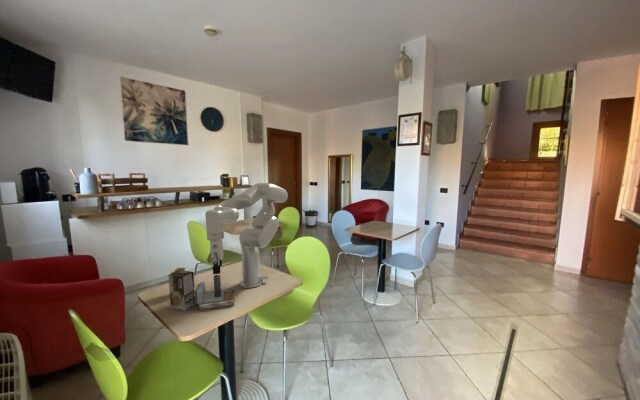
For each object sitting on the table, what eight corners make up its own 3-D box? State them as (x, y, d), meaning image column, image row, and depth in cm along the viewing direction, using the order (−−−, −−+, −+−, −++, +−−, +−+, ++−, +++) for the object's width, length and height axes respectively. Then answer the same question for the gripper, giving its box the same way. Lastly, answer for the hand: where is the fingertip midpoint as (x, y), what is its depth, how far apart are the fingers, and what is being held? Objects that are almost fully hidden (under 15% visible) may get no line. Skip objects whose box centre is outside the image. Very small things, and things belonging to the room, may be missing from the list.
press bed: (234, 292, 137) (234, 287, 137) (233, 306, 123) (233, 301, 123) (203, 296, 133) (203, 291, 133) (199, 311, 119) (198, 305, 118)
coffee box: (196, 304, 125) (194, 271, 123) (185, 310, 119) (183, 276, 117) (181, 301, 128) (179, 269, 126) (170, 307, 122) (167, 274, 120)
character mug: (185, 288, 142) (184, 265, 141) (194, 290, 139) (192, 267, 137) (165, 296, 132) (164, 271, 131) (174, 299, 129) (173, 274, 128)
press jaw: (224, 292, 134) (223, 271, 132) (222, 303, 123) (221, 279, 122) (199, 295, 130) (197, 273, 129) (195, 306, 120) (194, 282, 119)
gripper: (222, 239, 117) (224, 275, 120) (224, 230, 134) (226, 262, 136) (204, 241, 115) (207, 278, 117) (209, 231, 132) (211, 264, 134)
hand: (217, 269), depth 127 cm, fingers open, 9 cm apart
